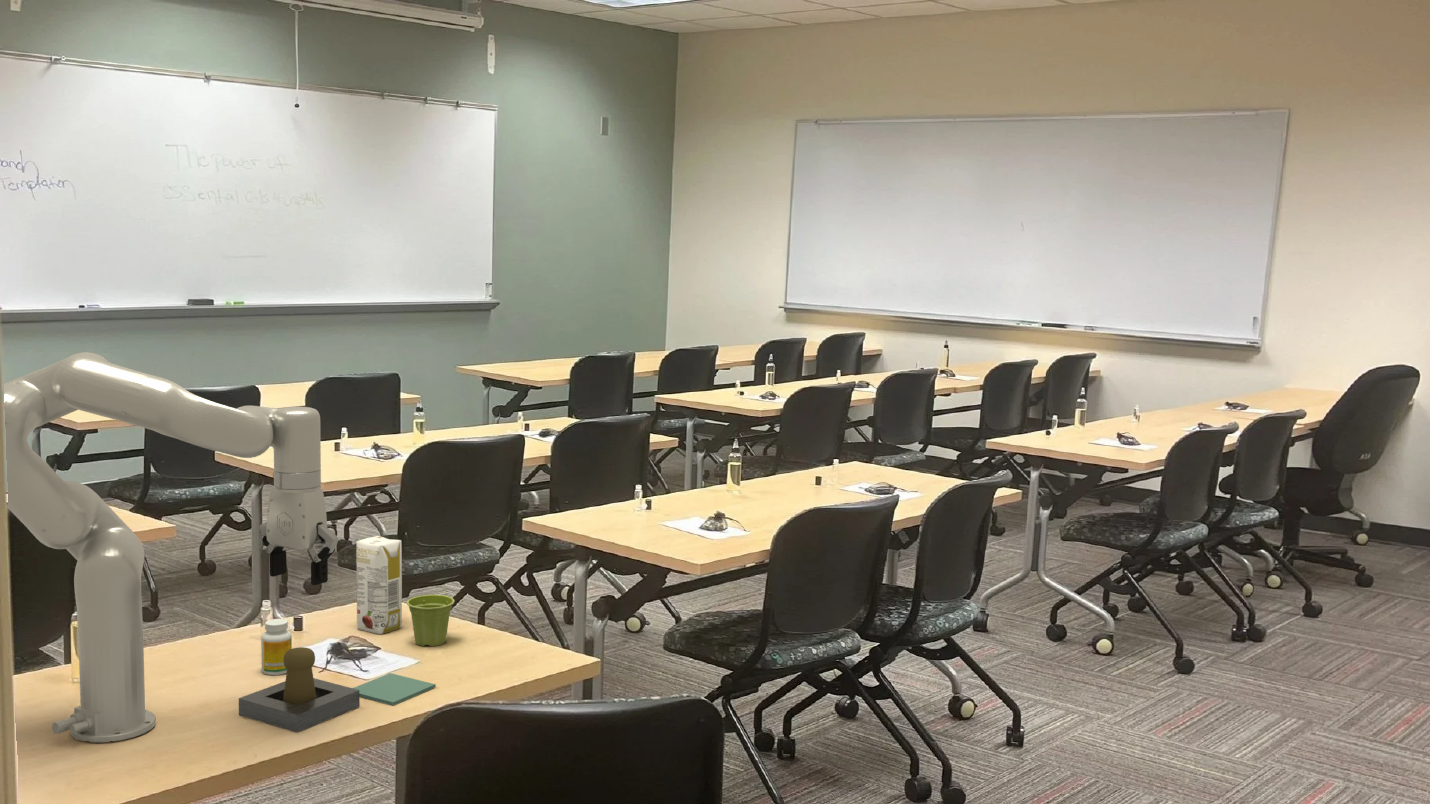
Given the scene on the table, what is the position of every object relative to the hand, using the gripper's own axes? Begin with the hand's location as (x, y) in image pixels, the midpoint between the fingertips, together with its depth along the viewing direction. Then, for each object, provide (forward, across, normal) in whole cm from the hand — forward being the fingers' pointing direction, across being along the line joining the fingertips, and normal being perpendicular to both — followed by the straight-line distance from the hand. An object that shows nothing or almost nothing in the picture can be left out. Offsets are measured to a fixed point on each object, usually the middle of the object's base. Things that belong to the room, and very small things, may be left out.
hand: (298, 579), depth 212 cm
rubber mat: (+23, +6, +16) cm, 29 cm away
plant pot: (+24, -6, +41) cm, 48 cm away
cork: (+24, 0, 0) cm, 24 cm away
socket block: (+23, 0, 0) cm, 23 cm away
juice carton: (+24, -21, +42) cm, 53 cm away
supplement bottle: (+24, -19, +12) cm, 32 cm away
